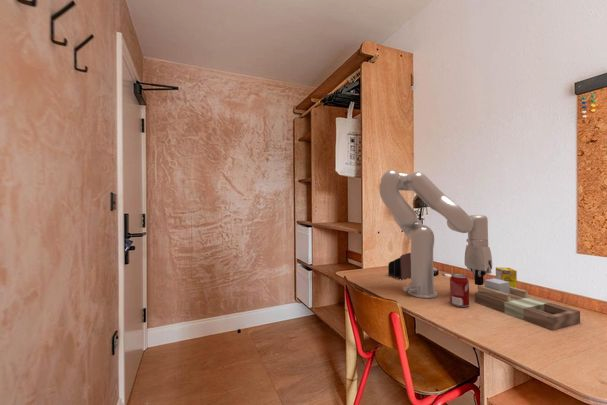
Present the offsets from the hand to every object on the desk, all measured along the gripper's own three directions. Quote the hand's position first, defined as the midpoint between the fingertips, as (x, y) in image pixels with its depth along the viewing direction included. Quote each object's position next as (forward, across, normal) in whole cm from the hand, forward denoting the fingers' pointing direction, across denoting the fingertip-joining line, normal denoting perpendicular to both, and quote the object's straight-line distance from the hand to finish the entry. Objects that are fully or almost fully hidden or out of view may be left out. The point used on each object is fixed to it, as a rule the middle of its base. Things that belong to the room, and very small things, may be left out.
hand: (479, 284), depth 119 cm
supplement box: (+6, +1, +16) cm, 17 cm away
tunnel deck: (+5, +17, 0) cm, 18 cm away
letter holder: (+6, -40, -5) cm, 40 cm away
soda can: (+5, +4, -16) cm, 18 cm away
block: (+1, +8, 0) cm, 8 cm away
